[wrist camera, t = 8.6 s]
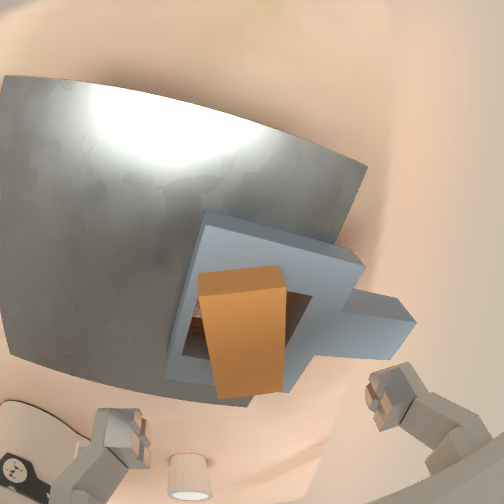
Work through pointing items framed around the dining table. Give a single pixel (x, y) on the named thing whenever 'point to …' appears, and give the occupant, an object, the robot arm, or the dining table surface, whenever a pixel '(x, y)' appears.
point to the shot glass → (189, 478)
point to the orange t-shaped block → (244, 329)
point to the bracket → (302, 306)
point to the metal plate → (135, 219)
